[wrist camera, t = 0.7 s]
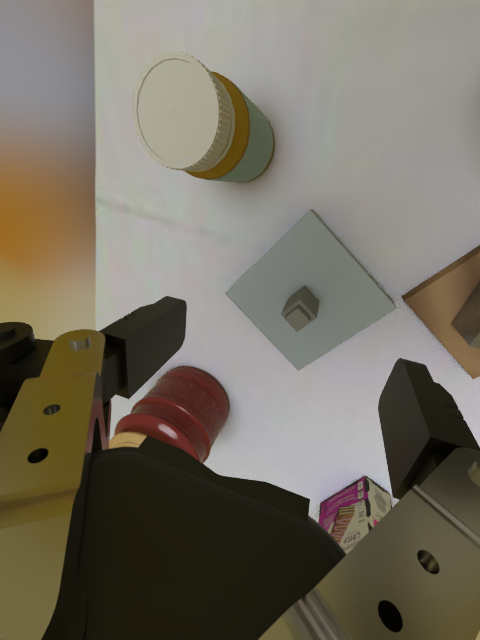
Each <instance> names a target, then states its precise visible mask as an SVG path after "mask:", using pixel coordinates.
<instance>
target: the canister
mask: <svg viewBox="0 0 480 640" xmlns="http://www.w3.org/2000/svg"><path fill="white" fill-rule="evenodd" d="M228 410H229V403H228V399H227V396H226V393H225V391H224V390H223V388H222V387H221V385H220V384H219V383H218V382H217V381H216V380H215V379H214V378H213V377H211V376H210V375H209V374H207V373H205V372H203V371H201V370H199V369H196V368H192V367H178V368H175V369H172V370H171V371H169V372H167V373H166V374H164V375H163V376H162V377H161V378H160V379H159V380H158V381H157V383H156V384H155V386H154V387H153V388H152V389H151V390H150V391H149V392H148V393H147V394H146V395H145V396H144V397H143V398H142V399H141V400H140V401H138V402H137V403H136V404H135V405H134V407H133V408H132V410H131V414H129V415H126V416H124V417H123V418H122V419H121V420H120V421H119V422H118V423H117V425H116V428H115V436H114V437H113V438H112V439H111V440H110V442H109V449H110V448H116V447H139V446H140V444H141V443H142V442H143V440H144V439H145V438H146V437H147V435H148V436H150V437H153V438H155V439H158V440H160V441H163V442H165V443H168V444H170V445H173V446H176V447H178V448H181V449H183V450H185V451H186V452H187V453H189V454H190V455H191V456H193V457H194V458H196V459H197V460H198V461H200V462H201V463H202V464H203V463H204V462H205V461H206V460H207V458H208V456H209V454H210V450H211V448H212V446H213V444H214V442H215V440H216V438H217V436H218V434H219V432H220V431H221V429H222V428H223V426H224V424H225V422H226V420H227V415H228Z"/></svg>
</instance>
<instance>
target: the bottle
mask: <svg viewBox="0 0 480 640" xmlns="http://www.w3.org/2000/svg"><path fill="white" fill-rule="evenodd" d="M133 118H134V124H135V128H136V132H137V134H138V137H139V139H140V141H141V143H142V145H143V147H144V148H145V150H146V151H147V152H148V154H149V155H150V156H151V157H152V158H153V159H154V160H156V161H157V162H158V163H160V164H161V165H163V166H166V167H167V168H170V169H175V170H182V171H185V172H187V173H188V174H190V175H192V176H194V177H197V178H202V179H207V180H217V181H228V182H247V181H251V180H253V179H255V178H257V177H258V176H260V175H261V174H262V173H263V171H264V170H265V169H266V168H267V166H268V164H269V162H270V160H271V158H272V155H273V149H274V136H273V131H272V128H271V125H270V123H269V121H268V120H267V118H266V117H265V116H264V114H263V113H262V112H261V111H260V110H259V109H258V108H257V107H256V106H255V105H254V104H253V103H252V102H251V101H250V100H249V99H248V98H247V97H246V96H245V95H244V94H243V93H242V92H241V91H240V90H239V88H238V87H237V86H236V85H235V84H234V83H232V82H231V81H230V80H229V79H227V78H226V77H224V76H222V75H220V74H219V73H216V72H211V71H210V70H209V69H207V68H206V67H205V66H204V65H203V64H202V63H201V62H200V61H199V60H197V59H195V58H194V57H193V56H189V55H188V54H184V53H182V52H181V53H180V52H168V53H164V54H161V55H159V56H157V57H156V58H154V59H153V60H152V61H151V62H150V63H149V64H148V65H147V66H146V67H145V69H144V70H143V71H142V73H141V75H140V77H139V79H138V82H137V84H136V88H135V92H134V98H133Z"/></svg>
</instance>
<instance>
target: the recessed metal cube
mask: <svg viewBox="0 0 480 640" xmlns="http://www.w3.org/2000/svg"><path fill="white" fill-rule="evenodd" d="M451 324H452V326H453V327H454V328H455V329H456V330H457V332H458V333H459V334H460V335H461V336H462V337H463V339H464V340H465V341H466V342H467V343H468V345H469V346H472V347H475V348H478V349H480V281H479V283H478V284H477V286H476V287H475V289H474V290H473V292H472V293H471V294H470V296H469V297H468V299H467V300H466V302H465V303H464V305H463V306H462V308H461V309H460V311H459V312H458V314H457V315H456V317H455V318H454V320H453V321H452V323H451Z"/></svg>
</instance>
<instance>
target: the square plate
mask: <svg viewBox="0 0 480 640" xmlns="http://www.w3.org/2000/svg"><path fill="white" fill-rule="evenodd" d="M225 294H226V295H227V296H228V297H229V298H230V299H231V300H232V301H233V302H234V303H235V304H236V306H237V307H238V308H239V309H240V310H241V311H242V312H243V313H244V314H245V315H246V316H247V317H248V318H249V319H250V320H251V321H252V322H253V323H254V325H255V326H256V327H257V328H258V329H259V330H260V331H261V332H262V333H263V334H264V335H265V336H266V337H267V338H268V339H269V340H270V341H271V342H272V344H273V345H274V346H275V347H276V348H277V349H278V350H279V351H280V352H281V353H282V354H283V355H284V356H285V357H286V358H287V359H288V360H289V361H290V362H291V364H292V365H293V366H294V367H295V368H296V369H297V370H298V371H299V370H300V369H302V368H303V367H305V366H306V365H308V364H310V363H311V362H313V361H314V360H316V359H317V358H319V357H321V356H322V355H324V354H325V353H327V352H328V351H330V350H332V349H333V348H335V347H336V346H338V345H339V344H341V343H343V342H344V341H346V340H347V339H349V338H350V337H352V336H354V335H355V334H357V333H358V332H360V331H361V330H363V329H364V328H366V327H368V326H369V325H371V324H372V323H374V322H375V321H377V320H379V319H380V318H382V317H383V316H385V315H386V314H388V313H390V312H391V311H393V310H394V309H396V306H395V304H394V302H393V301H392V299H391V298H390V297H389V296H388V295H387V294H386V293H385V291H384V290H383V289H382V288H381V287H380V286H379V285H378V283H377V282H376V281H375V280H374V279H373V278H372V277H371V276H370V274H369V273H368V272H367V271H366V270H365V269H364V268H363V266H362V265H361V264H360V263H359V262H358V261H357V260H356V259H355V257H354V256H353V255H352V254H351V253H350V252H349V251H348V249H347V248H346V247H345V246H344V245H343V244H342V243H341V242H340V240H339V239H338V238H337V237H336V236H335V235H334V234H333V232H332V231H331V230H330V229H329V228H328V227H327V226H326V225H325V223H324V222H323V221H322V220H321V219H320V218H319V217H318V215H317V214H316V213H315V212H314V211H313V210H310V211H309V212H308V213H307V214H306V215H305V216H304V217H303V218H302V219H301V220H300V221H299V222H298V223H297V224H296V225H295V226H294V227H293V228H292V229H291V230H290V231H289V232H288V233H287V234H286V235H285V236H284V237H282V238H281V239H280V240H279V241H278V242H277V243H276V244H275V245H274V246H273V247H272V248H271V249H270V250H269V251H268V252H267V253H266V254H265V255H264V256H263V257H262V258H261V259H260V260H259V261H258V262H257V263H256V264H255V265H254V266H253V267H252V268H251V269H250V270H249V271H247V272H246V273H245V274H244V275H243V276H242V277H241V278H240V279H239V280H238V281H237V282H236V283H235V284H234V285H233V286H232V287H231V288H230V289H229V290H228V291H227V292H226V293H225Z"/></svg>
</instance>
